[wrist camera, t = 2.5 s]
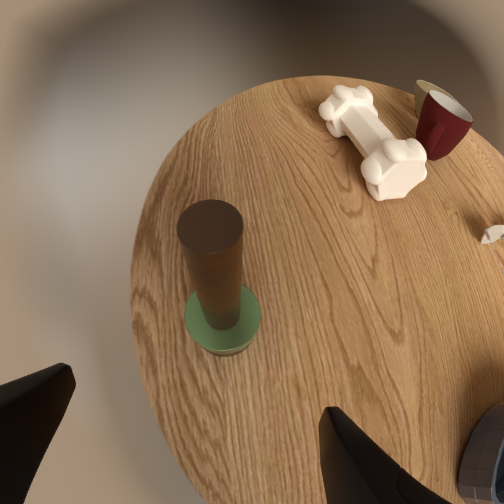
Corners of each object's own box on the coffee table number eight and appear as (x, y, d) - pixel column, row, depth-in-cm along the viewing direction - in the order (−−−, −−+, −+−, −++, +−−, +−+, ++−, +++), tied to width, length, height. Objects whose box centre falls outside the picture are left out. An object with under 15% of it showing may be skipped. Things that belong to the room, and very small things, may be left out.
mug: (443, 186, 32) (475, 136, 24) (398, 156, 35) (424, 101, 26) (448, 155, 37) (472, 112, 28) (410, 130, 39) (430, 85, 31)
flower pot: (439, 117, 45) (451, 92, 39) (453, 143, 40) (468, 115, 34) (401, 101, 46) (411, 74, 39) (411, 124, 40) (424, 93, 34)
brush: (201, 366, 20) (149, 310, 8) (185, 306, 22) (135, 190, 11) (266, 348, 21) (305, 268, 9) (245, 290, 23) (255, 163, 12)
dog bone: (413, 201, 30) (444, 154, 23) (359, 208, 29) (387, 152, 22) (360, 128, 37) (375, 84, 30) (310, 127, 36) (321, 78, 29)
